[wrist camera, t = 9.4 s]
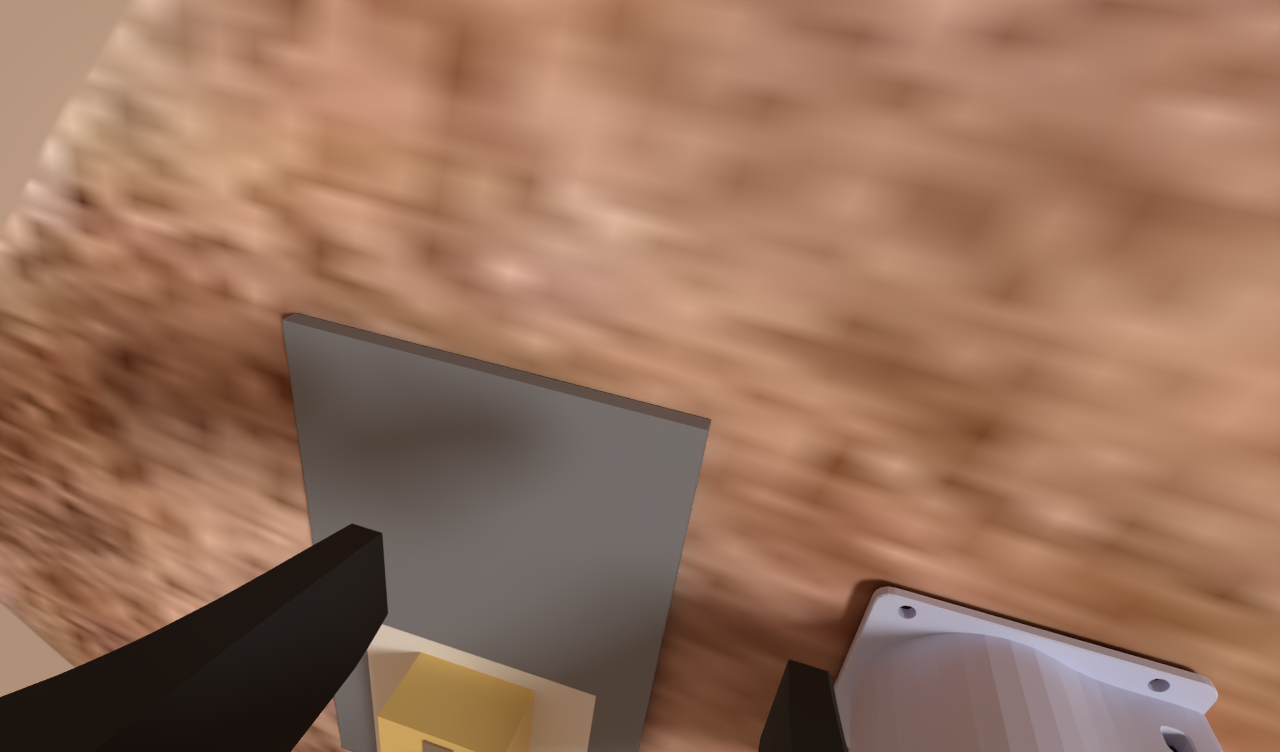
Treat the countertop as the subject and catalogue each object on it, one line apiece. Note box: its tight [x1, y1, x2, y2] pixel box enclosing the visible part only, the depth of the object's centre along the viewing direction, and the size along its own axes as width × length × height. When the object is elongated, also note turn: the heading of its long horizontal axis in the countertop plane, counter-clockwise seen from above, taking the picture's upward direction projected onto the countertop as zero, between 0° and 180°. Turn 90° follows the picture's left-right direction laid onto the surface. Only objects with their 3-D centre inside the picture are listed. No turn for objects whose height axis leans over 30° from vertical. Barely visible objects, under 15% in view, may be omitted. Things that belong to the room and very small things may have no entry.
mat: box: [282, 313, 711, 752], centre depth 26 cm, size 14×23×1 cm, turn 172°
